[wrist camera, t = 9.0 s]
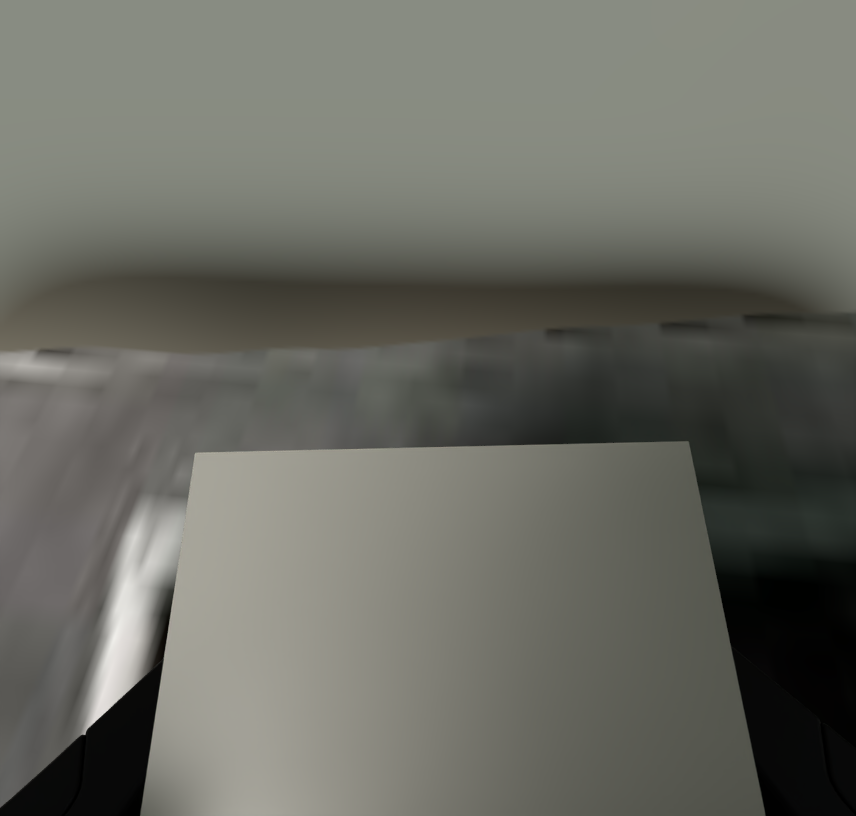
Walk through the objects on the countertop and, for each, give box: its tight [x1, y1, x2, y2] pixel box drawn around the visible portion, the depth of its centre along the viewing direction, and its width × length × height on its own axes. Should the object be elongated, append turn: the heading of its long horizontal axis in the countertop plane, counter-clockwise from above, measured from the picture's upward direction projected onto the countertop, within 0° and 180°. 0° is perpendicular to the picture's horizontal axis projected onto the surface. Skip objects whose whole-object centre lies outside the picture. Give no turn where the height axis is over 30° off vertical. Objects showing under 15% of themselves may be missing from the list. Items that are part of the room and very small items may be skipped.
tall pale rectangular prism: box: [140, 441, 766, 816], centre depth 9 cm, size 5×5×11 cm
